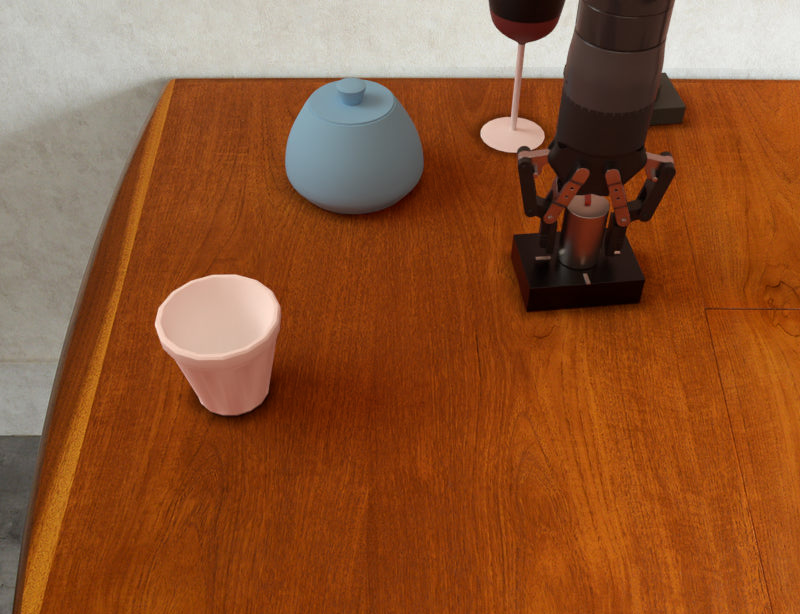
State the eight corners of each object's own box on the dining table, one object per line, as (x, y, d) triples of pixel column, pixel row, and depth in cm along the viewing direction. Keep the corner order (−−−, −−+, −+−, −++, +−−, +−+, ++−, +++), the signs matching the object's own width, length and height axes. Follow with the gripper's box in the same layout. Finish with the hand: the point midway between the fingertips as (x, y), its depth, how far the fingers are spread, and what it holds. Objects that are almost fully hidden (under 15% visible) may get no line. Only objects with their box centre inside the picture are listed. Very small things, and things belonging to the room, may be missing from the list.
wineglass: (532, 161, 101) (554, -17, 86) (463, 140, 104) (473, -36, 89) (560, 128, 106) (586, -47, 91) (493, 108, 108) (508, -65, 93)
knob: (599, 271, 84) (611, 217, 79) (556, 267, 84) (565, 213, 80) (598, 244, 87) (610, 190, 82) (557, 241, 87) (566, 186, 82)
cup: (283, 342, 82) (272, 265, 75) (298, 424, 76) (288, 347, 69) (173, 359, 81) (152, 282, 74) (179, 444, 74) (156, 368, 67)
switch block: (661, 88, 111) (669, 58, 108) (682, 123, 106) (690, 92, 103) (575, 93, 111) (580, 63, 108) (591, 129, 105) (597, 98, 102)
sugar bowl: (439, 210, 95) (442, 112, 87) (300, 232, 93) (289, 133, 84) (404, 134, 105) (404, 39, 96) (277, 152, 102) (266, 56, 94)
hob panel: (616, 249, 91) (622, 224, 89) (639, 304, 86) (646, 278, 83) (510, 257, 90) (513, 232, 88) (526, 312, 85) (530, 287, 82)
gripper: (522, 106, 70) (503, 272, 83) (707, 112, 69) (659, 279, 82) (519, 58, 75) (502, 222, 88) (692, 64, 74) (650, 228, 87)
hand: (578, 249), depth 85 cm, fingers open, 5 cm apart
